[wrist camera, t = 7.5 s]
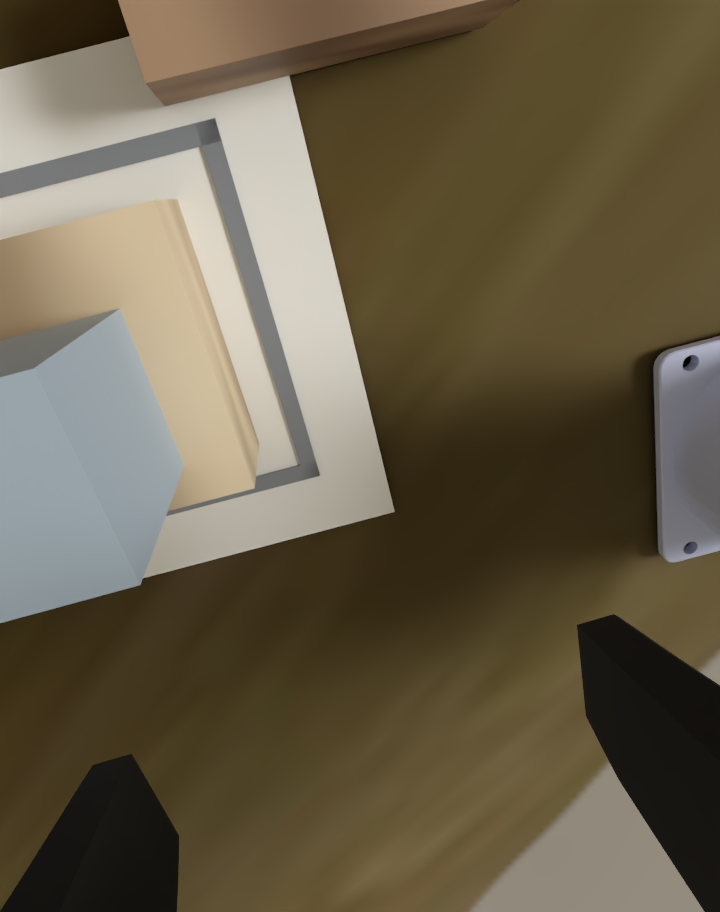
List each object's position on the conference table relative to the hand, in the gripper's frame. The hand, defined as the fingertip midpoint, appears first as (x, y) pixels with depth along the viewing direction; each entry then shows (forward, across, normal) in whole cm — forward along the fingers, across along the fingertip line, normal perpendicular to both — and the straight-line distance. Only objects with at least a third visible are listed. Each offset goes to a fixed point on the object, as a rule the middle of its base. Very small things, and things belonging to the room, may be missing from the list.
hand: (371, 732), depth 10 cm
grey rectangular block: (+7, +5, -4) cm, 10 cm away
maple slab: (+10, +5, -5) cm, 12 cm away
